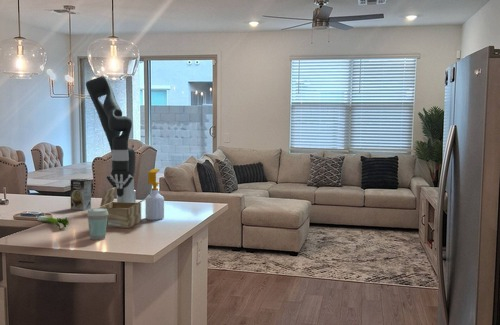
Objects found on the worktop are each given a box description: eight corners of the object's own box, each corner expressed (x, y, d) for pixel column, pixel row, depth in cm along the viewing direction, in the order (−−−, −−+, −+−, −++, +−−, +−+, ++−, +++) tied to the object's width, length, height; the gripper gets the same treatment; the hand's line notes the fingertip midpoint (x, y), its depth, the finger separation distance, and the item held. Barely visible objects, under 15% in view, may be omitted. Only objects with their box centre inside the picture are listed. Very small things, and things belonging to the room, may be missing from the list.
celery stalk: (48, 223, 246) (73, 228, 224) (34, 227, 242) (58, 233, 219) (46, 211, 246) (71, 215, 223) (31, 214, 241) (55, 219, 219)
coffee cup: (89, 236, 212) (89, 207, 211) (110, 236, 213) (110, 207, 212) (84, 241, 203) (84, 211, 202) (106, 240, 204) (106, 211, 203)
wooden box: (113, 220, 246) (112, 201, 245) (141, 221, 244) (140, 202, 243) (99, 227, 229) (99, 207, 228) (129, 228, 227) (129, 208, 227)
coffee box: (70, 209, 272) (69, 179, 271) (78, 207, 278) (78, 178, 277) (83, 210, 269) (83, 180, 268) (91, 208, 275) (91, 179, 274)
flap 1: (112, 200, 244) (116, 187, 243) (113, 201, 244) (116, 187, 243) (100, 206, 229) (103, 191, 228) (100, 206, 229) (104, 191, 228)
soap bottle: (167, 217, 254) (167, 168, 252) (158, 220, 246) (158, 170, 244) (151, 216, 257) (151, 168, 255) (142, 219, 249) (142, 169, 247)
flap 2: (140, 201, 242) (152, 195, 242) (140, 202, 242) (152, 195, 242) (129, 207, 227) (142, 200, 227) (129, 208, 227) (142, 200, 227)
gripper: (103, 159, 231) (103, 197, 232) (131, 160, 229) (131, 198, 231) (109, 158, 238) (109, 194, 240) (136, 159, 237) (136, 195, 238)
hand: (120, 196), depth 235 cm, fingers closed
